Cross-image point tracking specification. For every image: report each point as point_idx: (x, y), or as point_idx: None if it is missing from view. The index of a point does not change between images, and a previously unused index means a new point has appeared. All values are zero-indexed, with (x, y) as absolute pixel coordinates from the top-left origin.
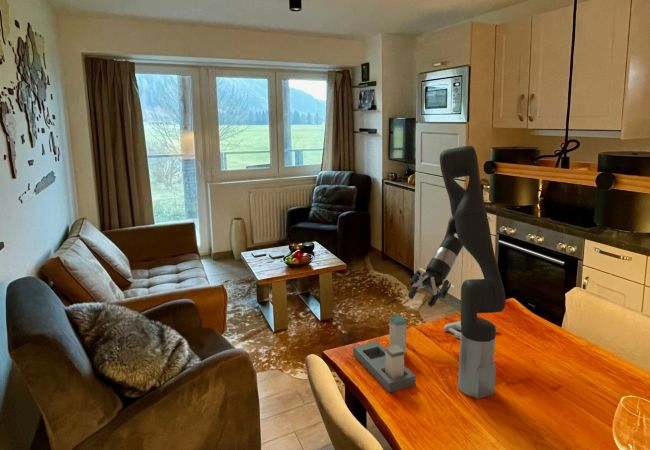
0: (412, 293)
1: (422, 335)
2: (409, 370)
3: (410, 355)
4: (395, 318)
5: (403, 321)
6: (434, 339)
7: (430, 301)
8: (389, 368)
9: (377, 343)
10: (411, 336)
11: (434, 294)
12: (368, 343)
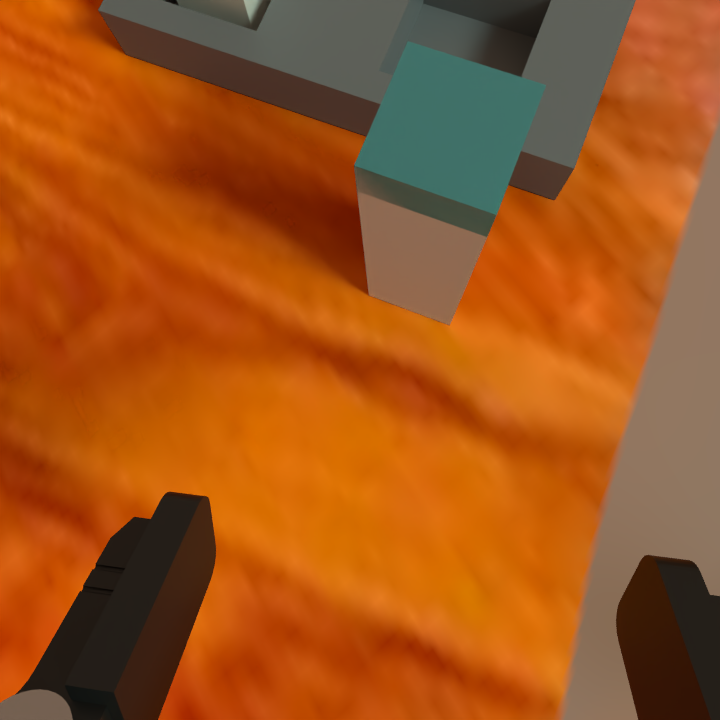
0: (668, 656)
1: (431, 618)
2: (159, 30)
3: (325, 291)
4: (480, 112)
5: (369, 131)
6: (319, 625)
7: (143, 534)
8: None
9: (542, 144)
10: (488, 537)
11: (45, 704)
12: (591, 99)
